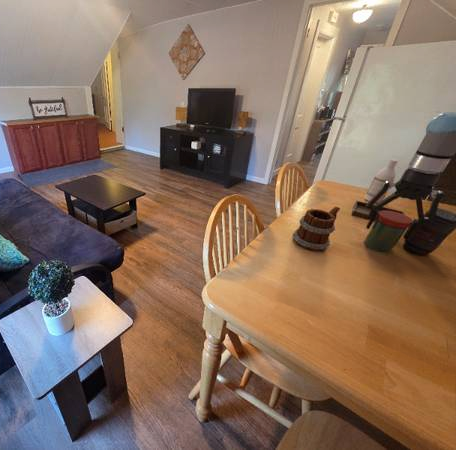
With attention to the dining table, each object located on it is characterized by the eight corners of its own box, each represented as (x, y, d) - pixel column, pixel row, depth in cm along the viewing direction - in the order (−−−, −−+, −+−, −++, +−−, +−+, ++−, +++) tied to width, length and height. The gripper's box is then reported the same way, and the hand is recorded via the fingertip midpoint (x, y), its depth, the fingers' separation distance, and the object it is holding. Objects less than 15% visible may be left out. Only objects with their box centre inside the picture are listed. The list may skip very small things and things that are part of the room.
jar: (391, 245, 88) (409, 217, 82) (391, 256, 83) (410, 227, 77) (364, 237, 92) (379, 210, 86) (362, 247, 87) (378, 219, 81)
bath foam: (375, 197, 122) (396, 157, 112) (385, 203, 116) (408, 162, 106) (360, 196, 123) (380, 157, 112) (369, 202, 117) (391, 161, 106)
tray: (401, 215, 106) (404, 211, 105) (402, 228, 98) (405, 224, 97) (354, 204, 116) (356, 200, 114) (351, 214, 107) (353, 210, 106)
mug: (282, 238, 91) (299, 201, 84) (305, 234, 98) (323, 200, 91) (311, 256, 82) (333, 216, 75) (334, 250, 89) (356, 214, 82)
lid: (375, 222, 82) (378, 217, 81) (376, 212, 87) (379, 207, 86) (410, 231, 77) (413, 226, 76) (408, 220, 83) (411, 215, 82)
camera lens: (401, 251, 85) (431, 214, 76) (398, 239, 90) (426, 204, 82) (432, 261, 81) (467, 223, 72) (427, 248, 87) (459, 212, 78)
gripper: (475, 174, 69) (428, 238, 81) (377, 159, 81) (348, 217, 93) (482, 182, 64) (431, 249, 76) (377, 165, 76) (346, 225, 88)
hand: (385, 232), depth 84 cm, fingers open, 9 cm apart
